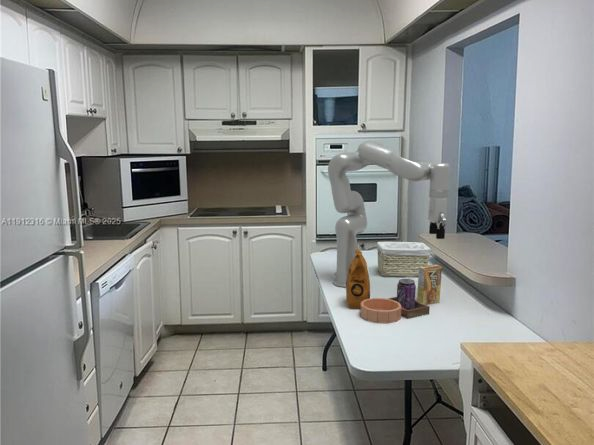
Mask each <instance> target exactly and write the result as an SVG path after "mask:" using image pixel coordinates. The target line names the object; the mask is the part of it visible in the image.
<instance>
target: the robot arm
mask: <svg viewBox="0 0 594 445" xmlns="http://www.w3.org/2000/svg"><path fill="white" fill-rule="evenodd" d="M370 165H375V166H377V167H380V168H382V169H384V170H385V169H386V170H388V171H389V172H391V174H393V175H395V176H398V177H400V178H402V179H405V180H408V181H410V182H421V181H422V182H423V181H428V180H429V187H428V188H429V190H428V191H429V192H428V193H429V194H428V198H429V200H428V210H427V211H428V212H427V220H428V221H429V226H428V227H429V229H428V231H429V232H428V233H429V235H435V239H436V240H444V239H445V236H446V222H447V212H448V211H447V210H448V209H447V207H448V202H447V201H448V199H449V198H450V197H449V196H450V194H449V193H450V180H451V178H450V175H451V165H450V164H449V163H448V162H446V163H444V162H428V161H417V162H415V161H412V160H410V159H406V158H404V157H402V156H400V155H399V154H398V151H396V150H395V149H392V148H389V147H387V146H384V145H383V143H381V142H380V141H377V140H373V141H372V140H367V141H364V142H362V143H360V144H359V145H358V147H357V150H356V151H352V152H351V151H350V152H348V151H347V152H341V153H338V154H335V155H334V156H333V157H331V159H330V161H329V162H328V165H327V174H328V179H329V183H330V188H331V195H332V200H333V206H334V209H335V210H336V212H338V213H340V214H346V215H345V216H342V217H340V218H339V219H337V221H336V223H335V227H334V228H335V230H334V231H335V236H336V271H335V272H334V273H333V275H334V276H335V278H334V279H333V280H332V284H333V285H334V286H337V287H341V288H346V280H347V274H348V269H349V265H350V264H351V262H352V261H353V259H354V258H355V256H356V255H357V254H356V253H355V250H356V249H359V247H358V239H357V235H360V234H362V233H364V232H365V230H367V226H368V218H367V213H366V208H365V203H364V202H365V201H364V198H363V197H362V195H361V194H360V193H359V192H358V191H355V190H351V183H350V180H349V178H348V176H347V174H346V173H347V172H356V171H359V170H362V169H364V168H366V167H369V166H370Z"/></svg>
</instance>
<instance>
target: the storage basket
mask: <svg viewBox="0 0 594 445" xmlns="http://www.w3.org/2000/svg"><path fill="white" fill-rule="evenodd" d="M376 248H377V270H378V271H379V273H380V275H381V276H382V277H385V278H386V277H391V278H392V277H395V278H396V277H397V278H399V277H400V278H402V277H403V278H405V277H406V278H415V277H416V278H418V275H419V267H421V266H429V261H430V256H431V250H432V249H431V248H430V247H429V246H428V245H426V244H425V243H424V242H415V241H413V242H412V241H378V242H376Z"/></svg>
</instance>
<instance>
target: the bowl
mask: <svg viewBox="0 0 594 445" xmlns="http://www.w3.org/2000/svg"><path fill="white" fill-rule="evenodd" d="M401 308H402V306H401V304H400V303H399V302H396V301H394V300H391V299H388V298H386V297H385V298H384V297H370V299H365V300H363V301H362V302H361V306H360V310H359V311H360V312H359V313H360V317H361V319H363V320H365V321H367V322H370V323H371V322H372V323H377V324H391V323H396V322H398V321H400V320H401V318H402V316H401Z"/></svg>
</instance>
